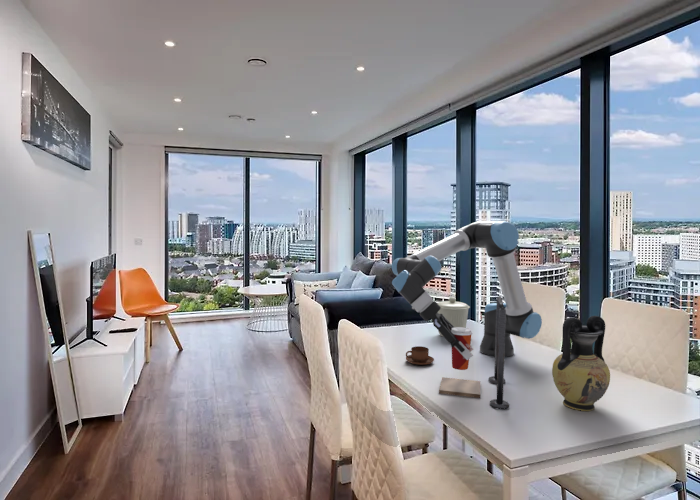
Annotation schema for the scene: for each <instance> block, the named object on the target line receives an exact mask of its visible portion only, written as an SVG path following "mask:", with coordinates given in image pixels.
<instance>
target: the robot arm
mask: <svg viewBox="0 0 700 500" xmlns="http://www.w3.org/2000/svg"><path fill="white" fill-rule="evenodd" d="M519 239H520V235H519V231H518V228H517V227H516V225H514V224H513V223H512V222H509V221H504V220H478V221H475V222H472V223H469V224H467V225H465V226H462V227H461V228H458V229H456V230H455V231H454V232H453V233H452V234H451V235H449V236H447V237H445V238H443V239H441V240H439V241H437V242H435V243H433V244H431V245H429V246H427V247H425V248H423V249H420V250H419V251H417V252H415V253H412V254H410V255H409V256H406V257H397V258H395V259H393V262H392V263H391V270H392V273H393V275H395V276H396V277H395V278H393V279H392V281H391V284H392V286H393V287H394V289H395V290H396V291H397V292H398V294H400V295H401V296H402V297H403V298H404V300H406V302H407V303H408V304H409V305H410V306H411V309H412V310H414V311H416V312H417V313H419V315H420V317H421V318H422V319H423V320H424V321H425V322H428V321H429V320H431V321H432V322H433V323H432V325H433V327H434V328H435V329H436V330H439V332H440V333H441V334H442V335H443V336H444V337H443V338H445V339H444V340H446V341H447V342H448V343H449V344H450V347H451V349H452V348H453V347H455V348H456V349H457V350H458V351H459V352H460V353H461V354H462V355H463V357H464V358H465V359H466V360H468V359H469V360H470V359H471V358H473V356H474V355H473V353H472V351H473V350H474V348H473V346H472V345H470V351H469V350H468V349H467V348H466V347H465V346H464V345H463V344H462V343H461V341H459V340H458V339H457V338H456V337H455V335H454V334H453V333H452V332H451V330H452V328H454V326H453V325H452V324H451V323H450V322H449V321H448V320H447V319H446V318H445V317H444V316H443V314H439V313H438V311H439V310H440V309H441V307H440V306H439V305H438V304H437V303H438V302H436V300H433V297H432V296H431V295H430V294H429V293H428V291H426V290H425V289H424V287H425V286H426V285H427V284H428V283H429V282H431V281H432V280H433V279H434V278H435V277H436V276H437V275H438V274H439V273H440V272H441V270H442V264H441V261H443V260H445V259H447V258H448V257H451V256H453V255H454V254H456V253H458V252H461V251H463V252H465V251H468V250H470V249H476V248H477V249H478V248H479V249H480V248H481V249H485V250H486V251H485V252H486V253H487V257H489V258H490V259H492V262H493V264H494V268H495V272H496V276H497V279H498V281H499V286H500V288H501V292H502V295H503V299H504V302H503V305H504V309H506V323H505V352H504V358H505V357H511V356H513V355H514V354H515V353H514V351H515V349H514V345H513V342H512V341H513V340H511V339H512V338H511V335H512V336H516V337H520V338H522V339H533V338H535V337H536V336H537V335H538V334H539V333H540V330H541V329H542V325H543V324H542V323H543V322H542V321H543V319H542V316H541V314H539V313H538V312H537V311H535V312H534V309H533V306H532V303H530V302H529V301H527V297H526V294H525V290H524V287H523V283H522V279H521V277H520V273H519V270H518V265H517V261H516V258H515V254H514V253H515V251H516V250H517V246H518V244H519ZM496 308H497V302H496V303H495V302H494V303H493V302H492V303H488V304H486V305H485V307H484V312H483V313H484V316H483V317H484V319H483V320H484V321H483V323H484V327H483V328H484V329H483V336H482V339H481V342H480V345H479V352H480V353H481V354H483V355H487V356H492V357H495V339H496ZM439 332H438V333H439Z"/></svg>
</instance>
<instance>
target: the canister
mask: <svg viewBox="0 0 700 500" xmlns="http://www.w3.org/2000/svg"><path fill="white" fill-rule="evenodd" d="M456 300H457V299H456V297H454V296H450V297H449V298H448V300H444V301H438V302H436V303H437V304H438V305H439V306H440V307H441V309H440V310H439V311H438V313H439V314H443V316H444V317H445V318H446V319H447V320H448V321H449V322H450V323H451V324H452V325H453V326H454V327H464V328H467V323H468V317H469V316H468V314H469V310H470V308H471V306H470V305H468V304H467V303H465V302H461V301H456ZM437 330H438V329H437ZM438 334H439V336H441V337H443V338H445V337H444V336H443V335H442V334H441V333H440V332H439V330H438Z"/></svg>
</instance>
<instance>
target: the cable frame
mask: <svg viewBox="0 0 700 500" xmlns="http://www.w3.org/2000/svg"><path fill="white" fill-rule="evenodd" d="M496 303H497V308H496V339H495V356H494V371H493V373H494V375H493V376H489V377H488V383H491V384H493V385H496V399H491V400H490V401H489V406H490V407H491V408H493V409H496V410H500V411H501V410H502V411H503V410H509V408H510V403H509V402H508V401H506V400H504V385H505V384H506V379H505V375H504V374H505V357H504V352H505V323H506V309H504V305H503V303H504V302H503V298H502V296H498V297H496Z"/></svg>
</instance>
